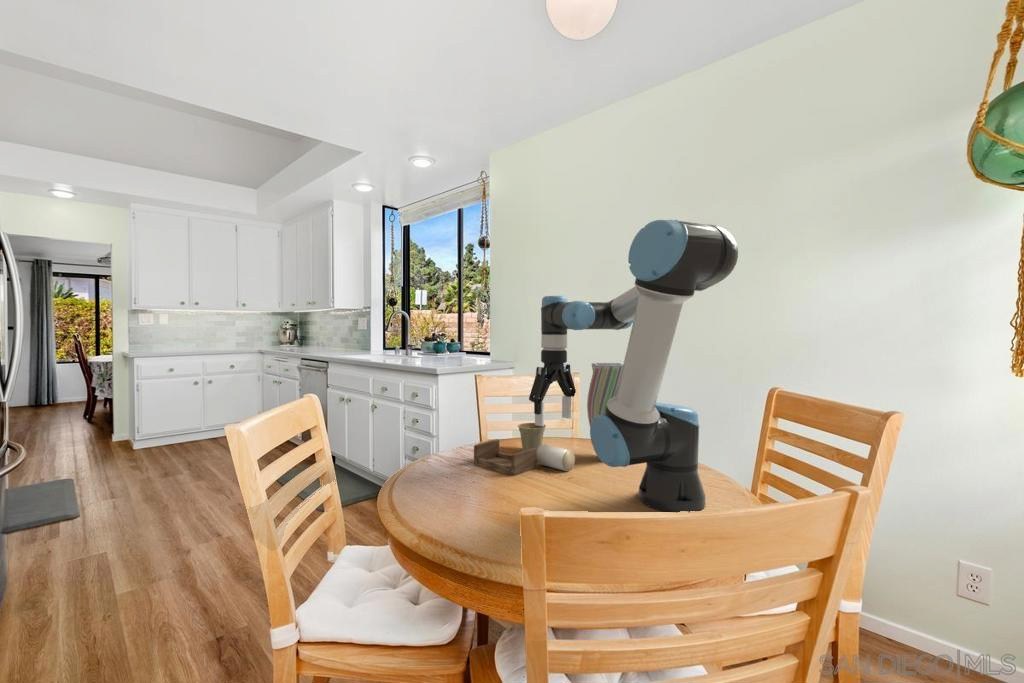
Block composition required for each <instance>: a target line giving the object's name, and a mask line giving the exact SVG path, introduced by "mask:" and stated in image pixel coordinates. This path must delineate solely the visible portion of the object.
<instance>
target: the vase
mask: <svg viewBox="0 0 1024 683" xmlns="http://www.w3.org/2000/svg"><path fill="white" fill-rule="evenodd" d="M623 364H624V363H623V362H591V368H592V376H591V379H590V383H589V388H588V394H587V399H586V400H587V401H586V402H587V403H586V408H587V410H586V411H587V418H588V425H589V427H590V426H591V422H592V420H593V418H595V417H596V416H598V415H599V414H603V415H604V413H605V410H606V405H607V402H608V400H609V399H611V398H613V397H615V396H616V393H617V389H618V385H619V381H620V376H621V372H622V368H623ZM600 462H601V463H603V462H602V461H601V460H600Z"/></svg>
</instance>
